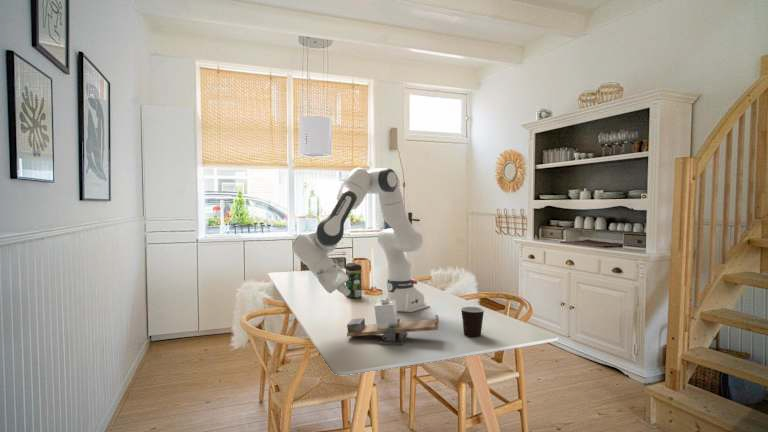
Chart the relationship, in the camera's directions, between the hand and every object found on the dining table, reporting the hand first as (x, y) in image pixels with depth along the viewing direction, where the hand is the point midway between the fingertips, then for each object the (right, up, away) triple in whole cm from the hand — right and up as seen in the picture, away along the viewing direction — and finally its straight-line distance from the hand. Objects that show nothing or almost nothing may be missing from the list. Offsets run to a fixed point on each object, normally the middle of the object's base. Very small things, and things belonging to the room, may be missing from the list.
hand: (348, 294), depth 161 cm
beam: (+17, -12, -3) cm, 21 cm away
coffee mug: (+49, -16, +3) cm, 52 cm away
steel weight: (+15, -12, -2) cm, 19 cm away
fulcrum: (+17, -16, -3) cm, 24 cm away
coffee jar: (-3, -14, +69) cm, 70 cm away
